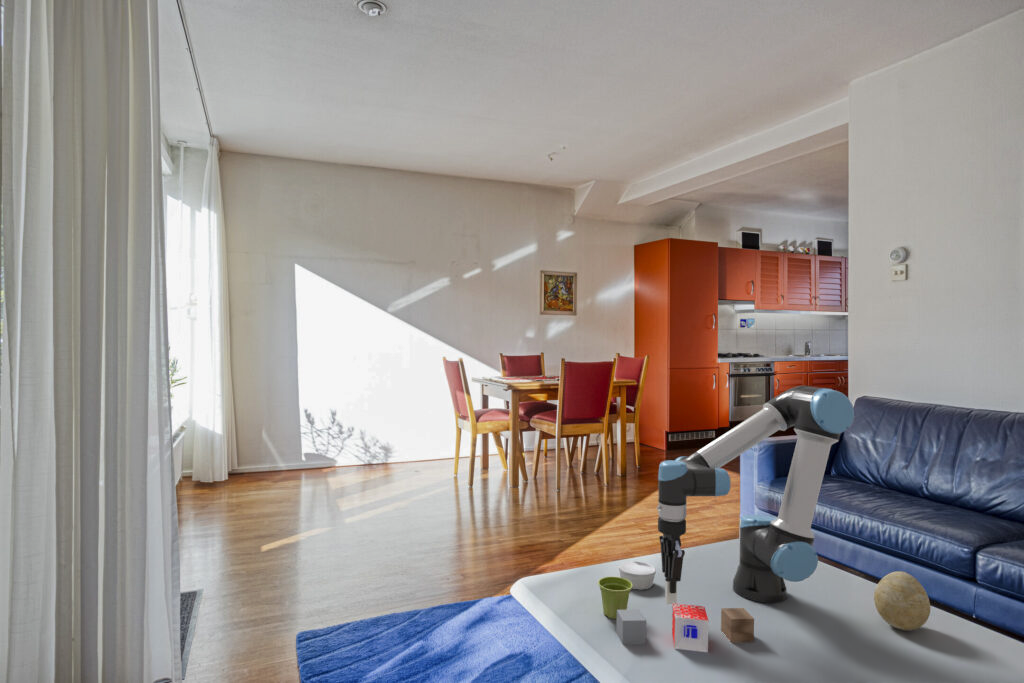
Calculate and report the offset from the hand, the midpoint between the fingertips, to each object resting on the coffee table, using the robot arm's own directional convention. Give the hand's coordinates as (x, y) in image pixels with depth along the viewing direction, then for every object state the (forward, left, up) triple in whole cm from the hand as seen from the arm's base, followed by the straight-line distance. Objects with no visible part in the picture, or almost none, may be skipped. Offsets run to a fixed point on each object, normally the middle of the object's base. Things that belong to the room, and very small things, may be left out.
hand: (670, 602), depth 165 cm
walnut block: (-14, +12, -4) cm, 18 cm away
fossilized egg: (-61, +9, -4) cm, 61 cm away
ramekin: (+3, -21, -4) cm, 22 cm away
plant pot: (+15, -1, -4) cm, 16 cm away
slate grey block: (+14, +12, -4) cm, 19 cm away
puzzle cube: (0, +14, -4) cm, 15 cm away
